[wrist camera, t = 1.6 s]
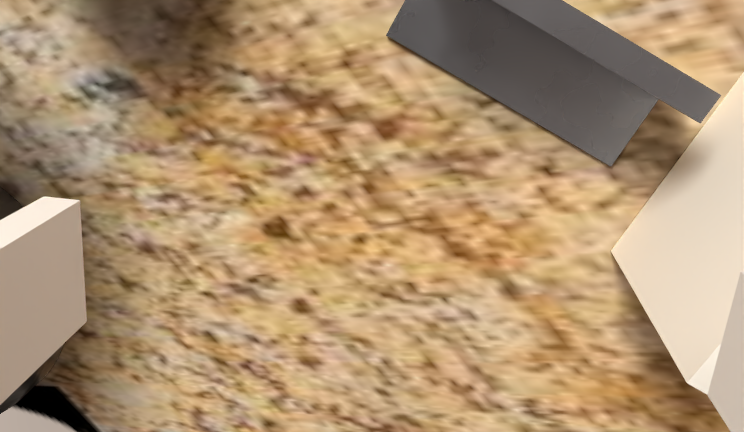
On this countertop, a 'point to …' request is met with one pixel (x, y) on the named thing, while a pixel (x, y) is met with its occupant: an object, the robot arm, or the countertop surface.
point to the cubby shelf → (693, 243)
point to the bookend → (551, 66)
